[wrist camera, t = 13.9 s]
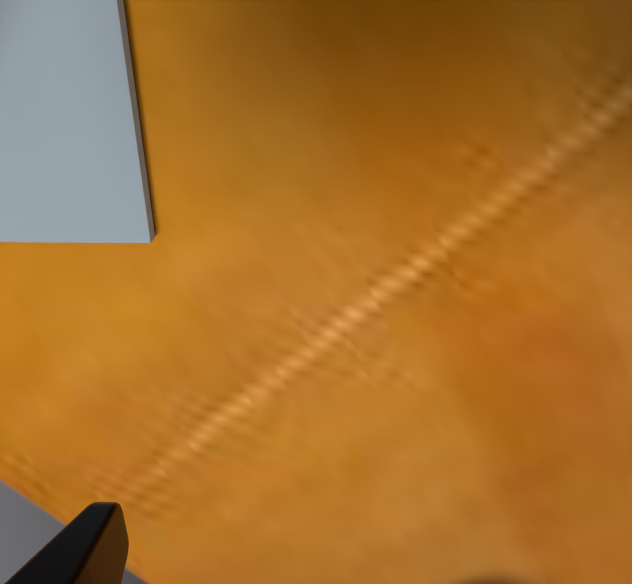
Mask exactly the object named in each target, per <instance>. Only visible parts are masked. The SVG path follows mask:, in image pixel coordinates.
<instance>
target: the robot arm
mask: <svg viewBox="0 0 632 584" xmlns="http://www.w3.org/2000/svg"><path fill="white" fill-rule="evenodd" d="M128 547H129V541H128V535H127V530H126V525H125V521H124V516H123V511H122V508H121V506H120V504H119V503H116V502H94V503H92V504H90V505H89V506H87V507H86V508H85V509H84V510H83V511H82V512H81V513H80V514H79V515H78V516H77V517H76V518H74V519H73V520H72V521H71V522H70V523H69V524H68V525H67V526H66V527H65V528H64V529H63V530H62V531H61V532H60V533H58V534H57V535H56V536H55V537H54V538H53V539H52V540H51V541H50V542H49V543H48V544H46V545H45V546H44V548H42V549H41V550H40V551H39V552H38V553H37V554H36V555H35V556H34V557H32V558H31V559H30V560H29V561H28V562H27V563H26V564H25V565H24V566H23V567H22V568H21V569H20V570H19V571H17V572H16V573H15V574H14V575H13V576H12V577H11V578H10V579H9V580H8V581H7V582H6V583H4V584H121V581H122V577H123V572H124V568H125V564H126V560H127V555H128Z"/></svg>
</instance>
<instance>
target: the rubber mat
mask: <svg viewBox="0 0 632 584" xmlns="http://www.w3.org/2000/svg"><path fill="white" fill-rule="evenodd" d="M154 238H155V232H154V225H153V217H152V210H151V202H150V195H149V188H148V180H147V173H146V165H145V158H144V151H143V143H142V136H141V128H140V121H139V114H138V106H137V99H136V91H135V84H134V76H133V69H132V62H131V54H130V47H129V39H128V32H127V25H126V17H125V10H124V2H123V0H0V242H76V243H151V242H152V240H153V239H154Z"/></svg>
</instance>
